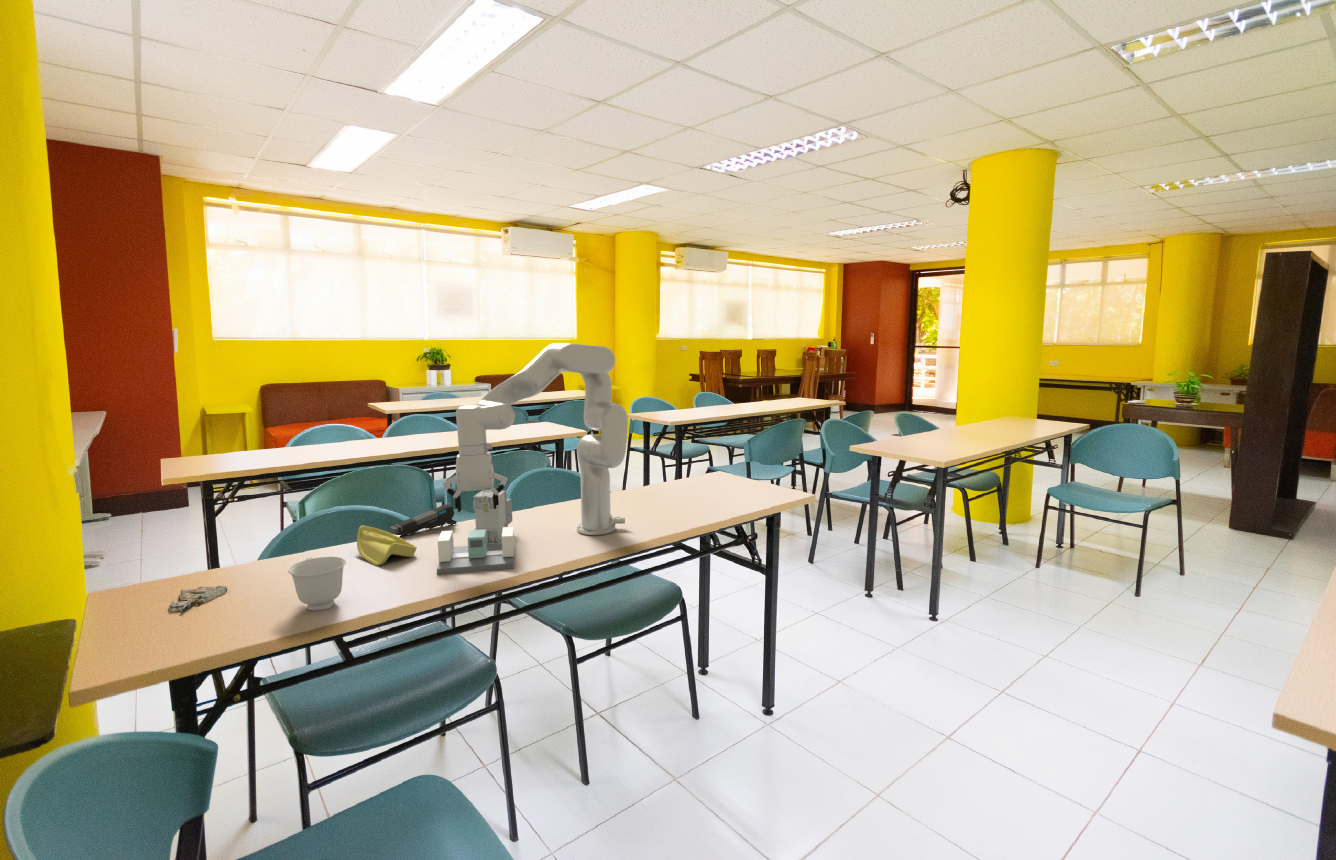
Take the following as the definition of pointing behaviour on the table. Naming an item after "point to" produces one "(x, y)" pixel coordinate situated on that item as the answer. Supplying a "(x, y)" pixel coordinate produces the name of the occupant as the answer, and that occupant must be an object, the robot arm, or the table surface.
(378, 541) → the plastic component
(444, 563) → the rail board
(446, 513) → the gun
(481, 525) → the circuit breaker
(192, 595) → the circuit board
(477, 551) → the block
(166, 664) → the table surface
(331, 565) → the teacup
